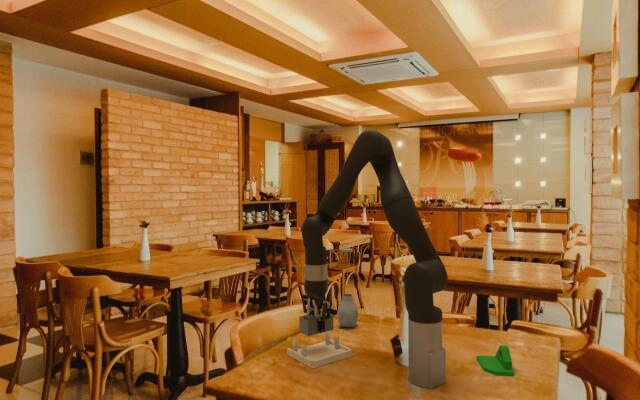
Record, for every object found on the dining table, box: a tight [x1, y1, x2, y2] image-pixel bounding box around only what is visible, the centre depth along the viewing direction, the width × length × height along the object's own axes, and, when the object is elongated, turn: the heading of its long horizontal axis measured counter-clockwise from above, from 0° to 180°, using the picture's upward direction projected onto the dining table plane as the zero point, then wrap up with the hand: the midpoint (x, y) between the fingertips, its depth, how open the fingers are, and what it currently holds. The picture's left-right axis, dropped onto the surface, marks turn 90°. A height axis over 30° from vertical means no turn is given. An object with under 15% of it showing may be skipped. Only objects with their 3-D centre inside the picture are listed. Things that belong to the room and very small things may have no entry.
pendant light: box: [336, 248, 359, 328], centre depth 173 cm, size 8×8×30 cm
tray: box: [286, 331, 354, 369], centre depth 144 cm, size 14×16×5 cm
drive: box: [298, 313, 334, 337], centre depth 146 cm, size 5×10×5 cm, turn 126°
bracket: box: [475, 344, 515, 377], centre depth 133 cm, size 12×8×7 cm, turn 173°
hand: (316, 329), depth 146 cm, fingers closed on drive, 5 cm apart
